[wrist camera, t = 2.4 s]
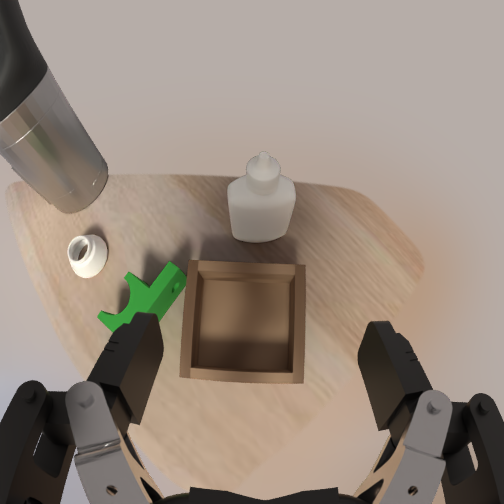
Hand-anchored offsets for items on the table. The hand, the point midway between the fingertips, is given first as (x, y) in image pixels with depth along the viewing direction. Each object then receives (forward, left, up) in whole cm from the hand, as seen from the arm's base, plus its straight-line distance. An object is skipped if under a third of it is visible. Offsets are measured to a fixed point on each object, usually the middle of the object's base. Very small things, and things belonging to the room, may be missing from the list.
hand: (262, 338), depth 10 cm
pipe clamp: (-11, +2, -17) cm, 20 cm away
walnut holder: (-1, +2, -16) cm, 16 cm away
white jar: (-19, +8, -17) cm, 26 cm away
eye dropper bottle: (0, +12, -16) cm, 20 cm away
